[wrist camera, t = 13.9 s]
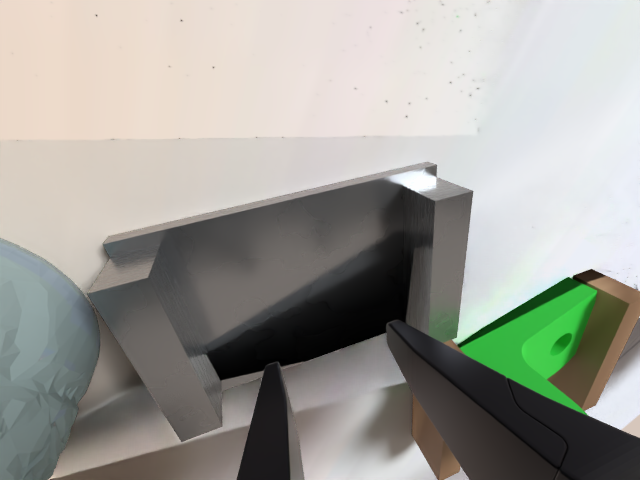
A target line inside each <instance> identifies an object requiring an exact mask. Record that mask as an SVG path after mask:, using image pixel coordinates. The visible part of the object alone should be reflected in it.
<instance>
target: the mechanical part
mask: <svg viewBox="0 0 640 480" xmlns="http://www.w3.org/2000/svg"><path fill="white" fill-rule="evenodd" d="M596 295H597V290H595V289H592V288H590V287H588V286H586V285H584V284H582V283H580V282H578V281H576V280H574V279H572V278H570V277H567V278H565V279H564V280H562V281H560V282H559V283H557V284H555V285H554V286H552V287H550V288H549V289H547V290H545V291H544V292H542V293H540V294H539V295H537V296H535V297H534V298H532V299H530V300H529V301H527V302H525V303H524V304H522V305H520V306H518V307H517V308H515V309H513V310H512V311H510V312H508V313H507V314H505V315H503V316H502V317H500V318H498V319H497V320H495V321H493V322H492V323H490V324H488V325H487V326H485V327H483V328H482V329H480V330H479V331H477V332H476V333H474V334H473V335H471V336H470V337H468V338H467V339H465V340H464V341H463V342H461V343H460V344H458V345H457V346H458V347H459V348H460V349H461V351H462V352H463V353H464V354H465V355H467V356H469V357H470V358H472V359H474V360H476V361H478V362H480V363H482V364H484V365H486V366H487V367H489V368H491V369H493V370H495V371H497V372H499V373H501V374H503V375H504V376H506V378H510V379H512V380H514V381H516V382H518V383H520V384H522V385H524V386H526V387H528V388H530V389H532V390H534V391H535V392H537V393H539V394H541V395H543V396H546V397H548V398H550V399H552V400H554V401H556V402H559V403H561V404H563V405H565V406H567V407H569V408H572V409H574V410H576V411H579V412H581V413H583V414H585V415H587V414H586V413H585V412H584V411H583V410H582V409H581V408H580V407H579V406H578V405H577V404H576V403H575V402H574V401H573V400H571V399H570V398H569V397H568V396H566V395H565V394H564V393H563V392H561V391H560V390H559V389H558V388H556V387H555V386H554V385H553V384H551V383H550V382H549V381H548V380H547V379H548V378H549V377H551V376H552V375H553V374H555V373H556V372H557V371H559V370H560V369H561V368H562V367H563V366H564V365H565V364H566V363H567V362H569V360H570V359H571V358H572V357H573V356H574V355H575V353H576V351H577V348H578V346H579V343H580V341H581V338H582V335H583V333H584V330H585V328H586V325H587V322H588V320H589V317H590V315H591V312H592V309H593V307H594V304H595V301H596Z"/></svg>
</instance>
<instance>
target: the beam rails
mask: <svg viewBox="0 0 640 480" xmlns="http://www.w3.org/2000/svg"><path fill="white" fill-rule="evenodd" d="M573 279H574V280H576V281H578V282H580V283H582V284H584V285H586V286H588V287H590V288H592V289H595V290H597V295H596V301H595V304H594V307H593V309H592V312H591V315H590V317H589V320H588V322H587V325H586V328H585V330H584V333H583V335H582V338H581V341H580V343H579V346H578V348H577V351H576V353H575V355H574V356H573V357H572V358H571V359H570V360H569V362H567V363H566V364H565V365H564V366H563V367H562V368H561V369H560V370H559V371H557V372H556V373H555V374H553V375H552V376H551V377H549V378H548V379H547V380H548V381H549V382H550V383H551V384H553V385H554V386H555V387H556V388H558V389H559V390H560V391H561V392H563V393H564V394H565V395H566V396H568V397H569V398H570V399H571V400H573V401H574V402H575V403H576V404H577V405H578V406H579V407H580V408H581V409H582V410H583V411H585V410H587V409H589V408H591V407H593V406H595V405H596V404H597V402H598V400H599V398H600V395H601V393H602V391H603V389H604V387H605V385H606V383H607V381H608V379H609V377H610V375H611V373H612V371H613V369H614V367H615V365H616V363H617V361H618V359H619V357H620V355H621V353H622V351H623V349H624V347H625V345H626V343H627V340H628V338H629V336H630V334H631V332H632V330H633V328H634V326H635V324H636V322H637V320H638V318H639V316H640V291H638V290H636V289H633V288H631V287H629V286H627V285H625V284H623V283H621V282H618V281H616V280H614V279H612V278H610V277H608V276H606V275H603V274H601V273H599V272H597V271H595V270H593V269H590V270H587V271H585V272H582V273H579V274H576V275H574V276H573ZM444 344H446V345H448V346H450V347H452V348H453V349H455V350H457V351H459V352H461V353H463V352H462V351H461V349H460V348H459V347H458V346H457V345H456V344H455V343H454V342H453V341H452V340H449V341H446V342H444ZM463 354H464V353H463ZM412 436H413V438H414V439H415V441H416V443H417V445H418V446H419V448H420V450H421V451H422V453H423V455H424V457H425V458H426V460H427V462H428V464H429V465H430V467H431V469H432V471H433V472H434V474H435V476H436V478H437V479H438V480H444V479H446V478H448V477H450V476H452V475H454V474H456V473H458V472H459V470H460V464H459V463H458V461H457V460H456V458H455V457H454V455H453V454H452V452H451V451H450V449H449V447H448V446H447V444H446V443H445V441H444V440H443V438H442V437H441V435H440V434H439V432H438V431H437V429H436V428H435V426H434V425H433V423H432V422H431V420H430V419H429V417H428V416H427V414H426V413H425V411H424V409H423V408H422V406H421V405H420V403H419V402H418V400H417V399H416V397H415V396H414V394H413V409H412Z"/></svg>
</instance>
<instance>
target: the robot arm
mask: <svg viewBox="0 0 640 480" xmlns="http://www.w3.org/2000/svg"><path fill="white" fill-rule="evenodd" d="M386 331H387V344H388V346H389V349H390V351H391V353H392V355H393V356H394V358H395V360H396V362H397V364H398V366H399V368H400V370H401V372H402V374H403V376H404V378H405V380H406V382H407V384H408V385H409V387H410V389H411V391H412V392H413V394H414V396H415V397H416V399H417V400H418V402H419V403H420V405H421V406H422V408H423V409H424V411H425V413H426V414H427V416H428V417H429V419H430V420H431V422H432V423H433V425H434V426H435V428H436V429H437V431H438V432H439V434H440V435H441V437H442V438H443V440H444V441H445V443H446V444H447V446H448V447H449V449H450V451H451V452H452V454H453V455H454V457H455V458H456V460H457V461H458V463H459V464H460V466H461V467H462V469H463V470H464V472H465V473H466V475H467V476H468V478H469V479H470V480H640V438H638V437H636V436H633V435H631V434H629V433H626V432H624V431H622V430H619V429H617V428H615V427H612V426H610V425H608V424H606V423H603V422H601V421H599V420H597V419H594V418H592V417H590V416H588V415H585V414H583V413H581V412H579V411H576V410H574V409H572V408H569V407H567V406H565V405H563V404H561V403H559V402H556V401H554V400H552V399H550V398H548V397H546V396H543V395H541V394H539V393H537V392H535V391H534V390H532V389H530V388H528V387H526V386H524V385H522V384H520V383H518V382H516V381H514V380H512V379H510V378H506V376H504V375H503V374H501V373H499V372H497V371H495V370H493V369H491V368H489V367H487V366H486V365H484V364H482V363H480V362H478V361H476V360H474V359H472V358H470V357H469V356H467V355H465V354H463V353H461V352H459V351H457V350H455V349H453V348H452V347H450V346H448V345H446V344H444V343H442V342H440V341H438V340H436V339H435V338H433V337H431V336H429V335H427V334H425V333H423V332H421V331H419V330H418V329H416V328H414V327H412V326H410V325H408V324H406V323H404V322H402V321H401V320H394V321H392V322H389V323H387V325H386ZM237 480H304V472H303V465H302V458H301V450H300V443H299V437H298V432H297V428H296V424H295V420H294V416H293V412H292V408H291V404H290V400H289V396H288V392H287V388H286V384H285V380H284V377H283V374H282V370H281V367H280V364H279V362H274V363H271V364H268V365H266V367H265V369H264V373H263V377H262V381H261V385H260V389H259V393H258V397H257V401H256V405H255V409H254V413H253V417H252V421H251V425H250V429H249V433H248V437H247V440H246V444H245V448H244V452H243V456H242V460H241V464H240V468H239V472H238V476H237Z"/></svg>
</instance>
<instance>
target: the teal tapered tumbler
mask: <svg viewBox="0 0 640 480" xmlns="http://www.w3.org/2000/svg"><path fill="white" fill-rule="evenodd" d="M99 348H100V332H99V326H98V322H97V318H96V315H95V313H94V311H93V308H92V307H91V305H90V304H89V302H88V300H87V299H86V297H85V296H84V294H83V292H82V291H81V290H80V289H79V288H78V287H77V286H76V285H75V284H74V283H73V282H72V281H71V280H70V279H69V278H68V277H67V276H66V275H64V274H63V273H62V272H61V271H59V270H58V269H57V268H56V267H54V266H53V265H52V264H50V263H49V262H48V261H46V260H45V259H43V258H41V257H39V256H37V255H35V254H33V253H31V252H30V251H28V250H26V249H24V248H22V247H20V246H18V245H15V244H13V243H11V242H8V241H6V240H4V239H1V238H0V480H48V479H49V478H50V477H51V476H52V475H53V472H54V469H55V468H56V465H57V462H58V459H59V456H60V454H61V453H62V451H63V450H64V449H65V446H66V443H67V441H68V438H69V435H70V432H71V427H72V425H73V423H74V421H75V418H76V416H77V413H78V410H79V408H78V406H77V404H78V402H79V401H80V399H81V398H82V397H83V395H84V394H85V393H86V391H87V388H88V386H89V383H90V380H91V377H92V375H93V372H94V369H95V366H96V363H97V360H98V356H99Z"/></svg>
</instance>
